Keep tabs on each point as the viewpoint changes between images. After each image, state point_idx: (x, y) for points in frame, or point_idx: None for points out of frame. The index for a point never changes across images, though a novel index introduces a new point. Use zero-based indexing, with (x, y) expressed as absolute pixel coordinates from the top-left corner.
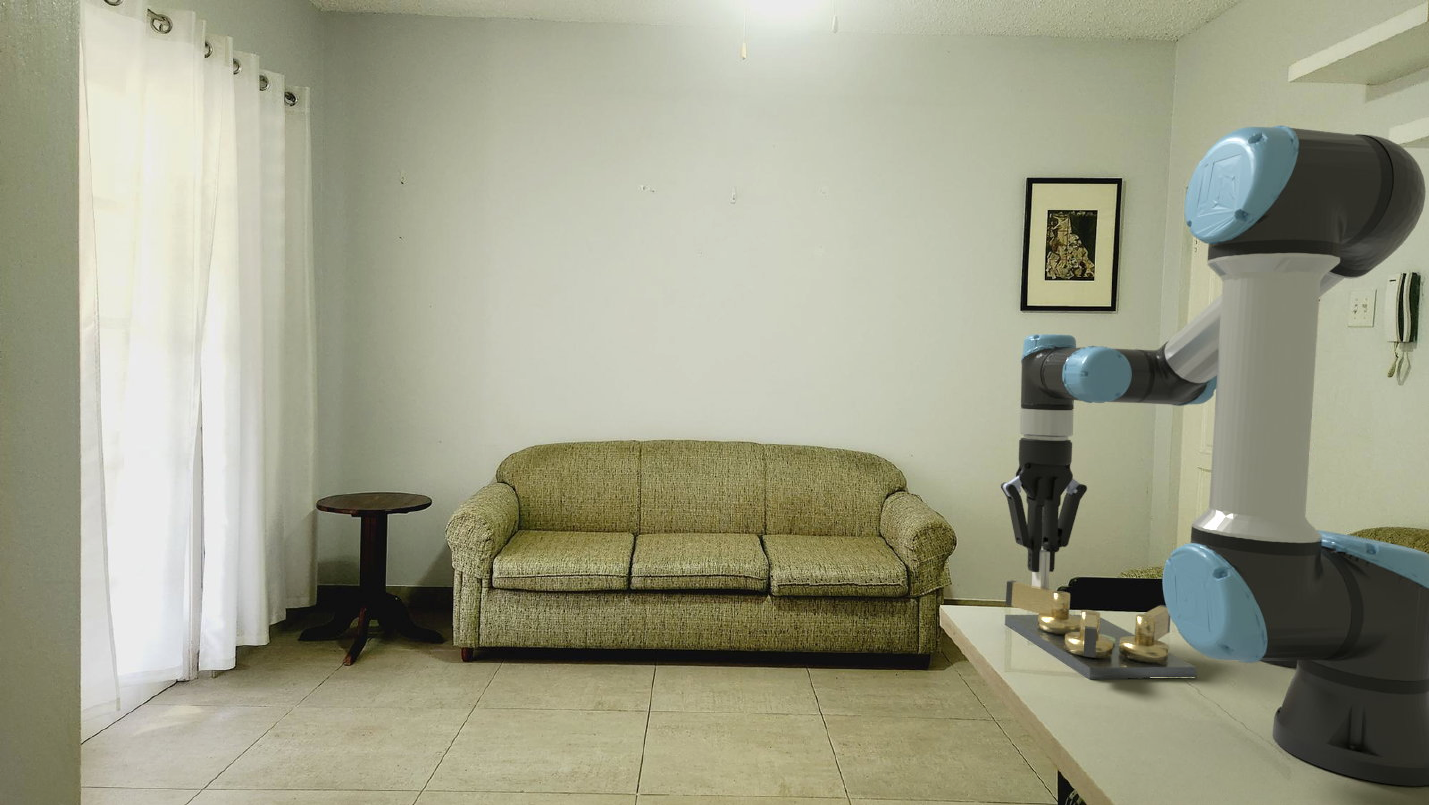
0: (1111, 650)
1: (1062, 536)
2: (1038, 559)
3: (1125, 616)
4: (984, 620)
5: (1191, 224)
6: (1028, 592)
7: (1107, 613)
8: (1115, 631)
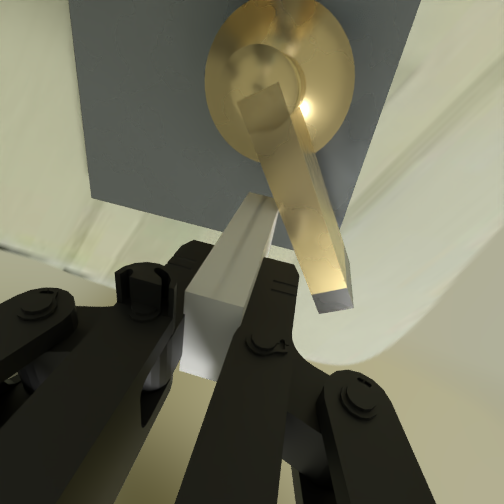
0: None
1: (8, 355)
2: (257, 295)
3: (17, 221)
4: (354, 284)
5: None
6: (326, 217)
7: (46, 247)
8: (109, 38)
